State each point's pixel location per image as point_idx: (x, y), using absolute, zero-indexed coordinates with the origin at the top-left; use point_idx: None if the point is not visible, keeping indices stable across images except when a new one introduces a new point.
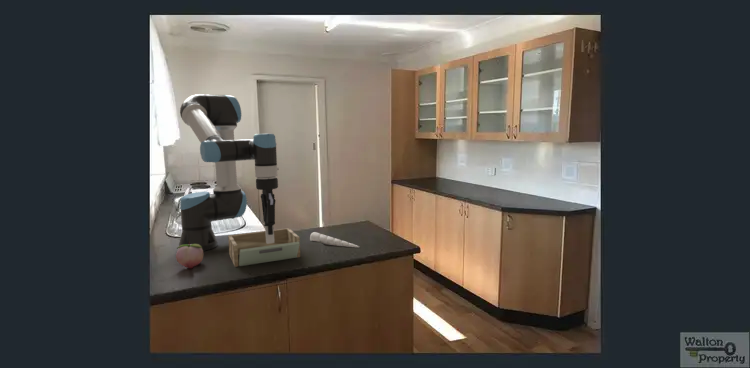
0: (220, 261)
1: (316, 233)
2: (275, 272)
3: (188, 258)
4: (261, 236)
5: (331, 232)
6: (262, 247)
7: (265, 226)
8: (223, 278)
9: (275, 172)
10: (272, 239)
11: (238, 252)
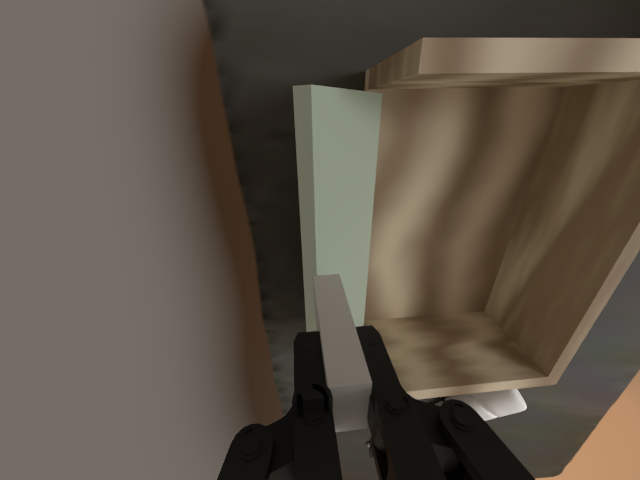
0: (555, 6)
1: (507, 411)
2: (254, 234)
3: None
4: (581, 261)
5: (544, 418)
6: (309, 241)
7: (351, 375)
8: None
9: None
10: (316, 320)
11: (564, 118)
